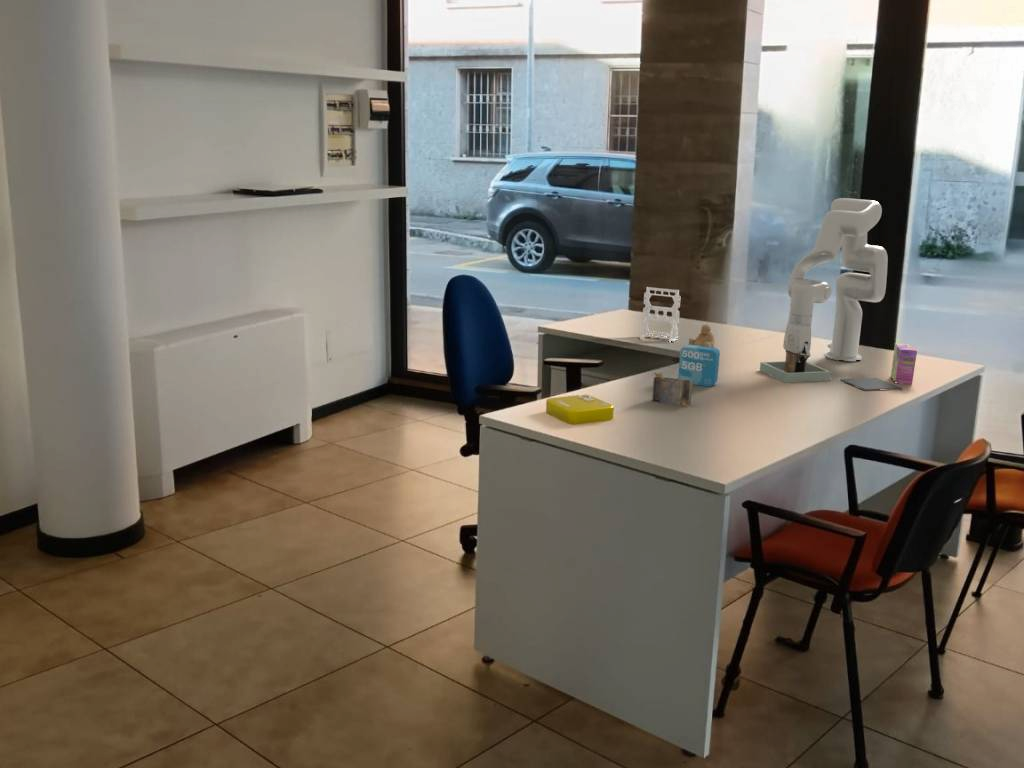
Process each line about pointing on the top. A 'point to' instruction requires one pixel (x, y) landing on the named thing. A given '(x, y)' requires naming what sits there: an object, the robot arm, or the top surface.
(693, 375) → the data package
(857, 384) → the mat
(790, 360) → the block
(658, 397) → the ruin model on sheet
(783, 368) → the green square frame
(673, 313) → the film strip holder
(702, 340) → the statue
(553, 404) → the element tile
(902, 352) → the box
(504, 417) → the top surface
